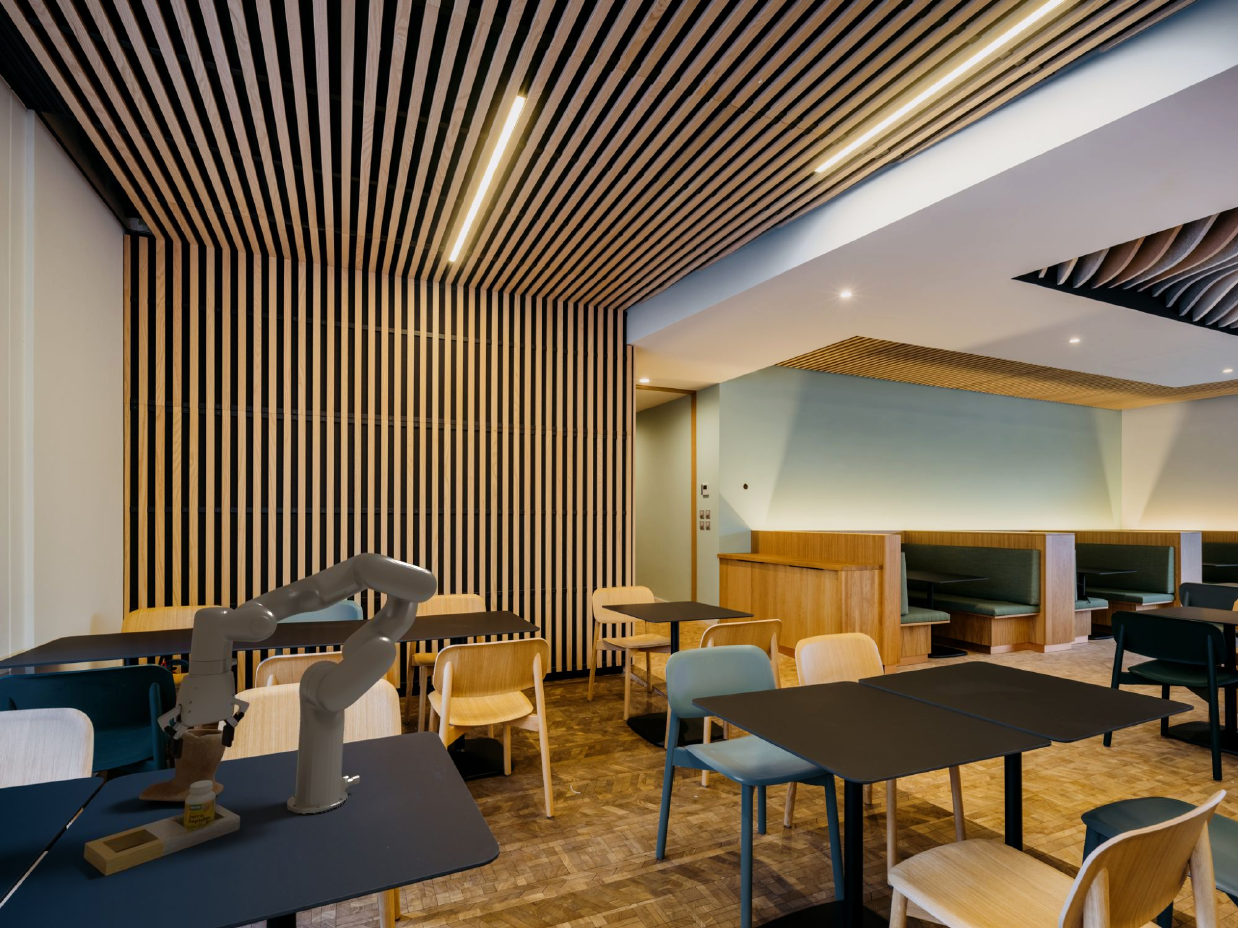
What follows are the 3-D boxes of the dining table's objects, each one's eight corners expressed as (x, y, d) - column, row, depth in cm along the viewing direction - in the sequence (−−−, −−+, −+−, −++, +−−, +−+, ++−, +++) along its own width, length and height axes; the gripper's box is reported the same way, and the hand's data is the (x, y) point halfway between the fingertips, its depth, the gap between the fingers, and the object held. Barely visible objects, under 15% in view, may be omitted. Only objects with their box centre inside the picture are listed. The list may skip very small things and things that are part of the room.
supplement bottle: (213, 823, 139) (216, 776, 140) (214, 833, 135) (217, 785, 136) (182, 829, 136) (186, 781, 137) (182, 840, 132) (186, 790, 133)
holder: (214, 815, 143) (215, 803, 143) (239, 829, 137) (240, 816, 137) (84, 857, 124) (85, 842, 125) (105, 875, 118) (107, 860, 118)
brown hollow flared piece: (235, 787, 159) (239, 723, 160) (204, 808, 147) (209, 738, 148) (172, 786, 159) (177, 722, 160) (136, 807, 147) (142, 737, 148)
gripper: (243, 659, 148) (236, 738, 146) (155, 670, 134) (146, 758, 132) (260, 663, 144) (253, 745, 142) (171, 676, 130) (162, 766, 128)
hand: (202, 751), depth 137 cm, fingers open, 9 cm apart
